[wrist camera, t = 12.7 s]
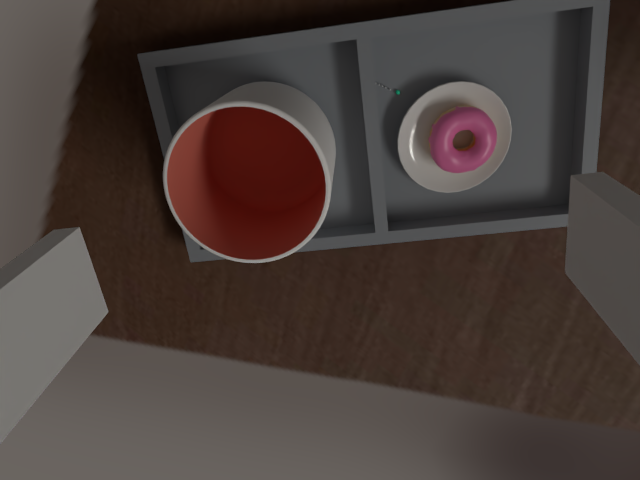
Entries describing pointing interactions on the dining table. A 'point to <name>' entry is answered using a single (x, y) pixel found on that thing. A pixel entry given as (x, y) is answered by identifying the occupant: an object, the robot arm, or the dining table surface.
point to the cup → (252, 173)
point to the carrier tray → (389, 108)
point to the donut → (454, 136)
